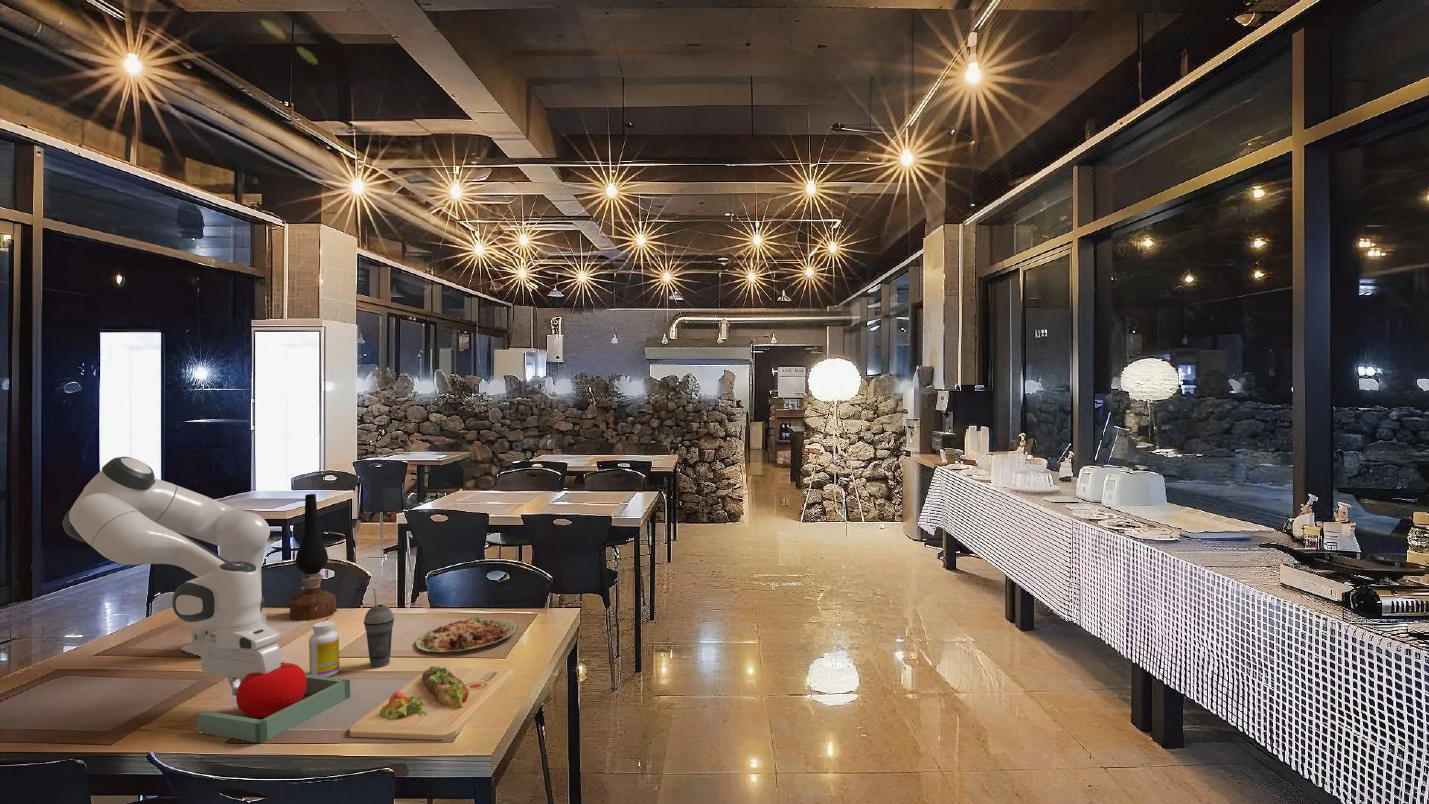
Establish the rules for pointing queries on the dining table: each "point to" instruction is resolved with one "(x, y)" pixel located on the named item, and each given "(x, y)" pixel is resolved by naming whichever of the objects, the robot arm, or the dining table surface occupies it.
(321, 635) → the supplement bottle
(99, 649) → the dining table surface
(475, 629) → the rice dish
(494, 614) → the dining table surface
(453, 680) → the cutting board
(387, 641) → the beverage cup
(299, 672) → the tomato
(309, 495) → the oil lamp
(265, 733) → the corral
